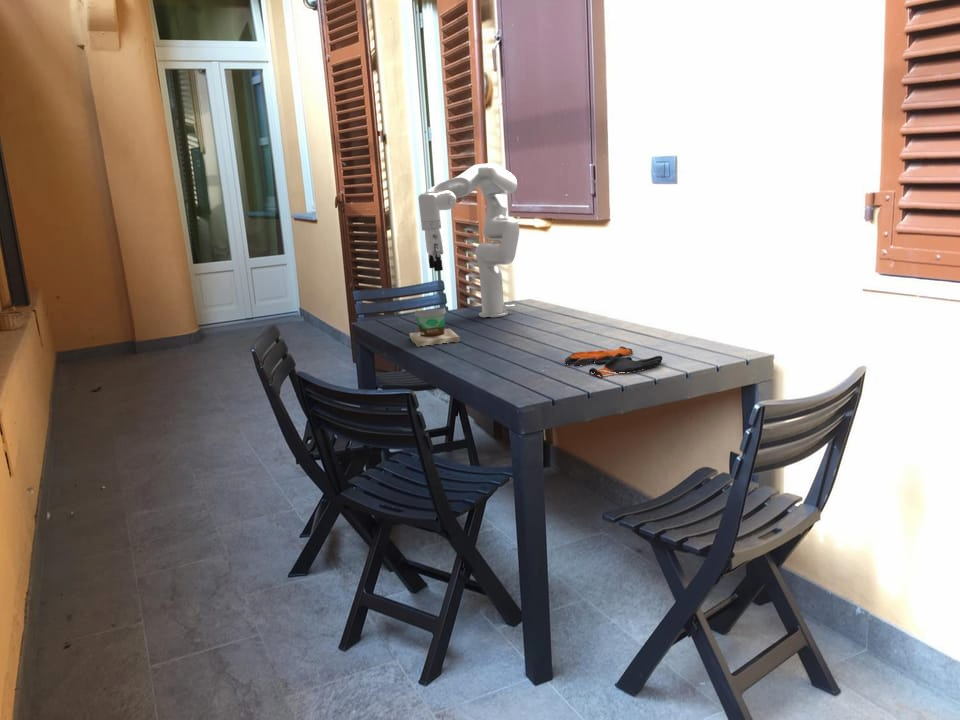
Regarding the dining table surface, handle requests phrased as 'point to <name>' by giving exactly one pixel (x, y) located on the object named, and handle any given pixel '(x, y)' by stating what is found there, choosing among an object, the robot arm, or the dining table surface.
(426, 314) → the food container
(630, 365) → the pair of gloves
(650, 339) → the dining table surface
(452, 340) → the birch board
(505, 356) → the dining table surface
